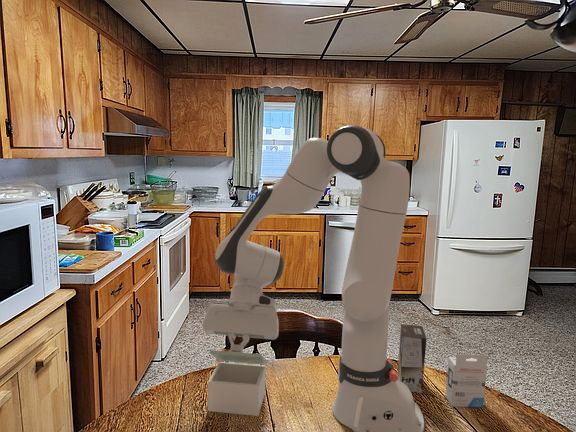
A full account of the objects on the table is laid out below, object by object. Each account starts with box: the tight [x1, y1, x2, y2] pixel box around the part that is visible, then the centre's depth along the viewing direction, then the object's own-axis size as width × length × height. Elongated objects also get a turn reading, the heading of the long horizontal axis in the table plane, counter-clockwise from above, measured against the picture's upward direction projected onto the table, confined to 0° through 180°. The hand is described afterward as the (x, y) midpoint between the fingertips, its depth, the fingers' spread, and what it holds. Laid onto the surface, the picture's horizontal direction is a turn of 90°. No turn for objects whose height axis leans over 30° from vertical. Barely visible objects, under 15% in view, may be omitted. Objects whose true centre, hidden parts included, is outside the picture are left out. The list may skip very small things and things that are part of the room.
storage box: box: [207, 361, 267, 417], centre depth 105 cm, size 13×10×8 cm
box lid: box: [209, 349, 267, 366], centre depth 105 cm, size 13×10×1 cm
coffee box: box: [397, 324, 428, 394], centre depth 115 cm, size 9×6×16 cm
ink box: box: [444, 354, 488, 408], centre depth 107 cm, size 8×5×15 cm, turn 89°
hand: (236, 352), depth 103 cm, fingers closed, pressing on box lid
